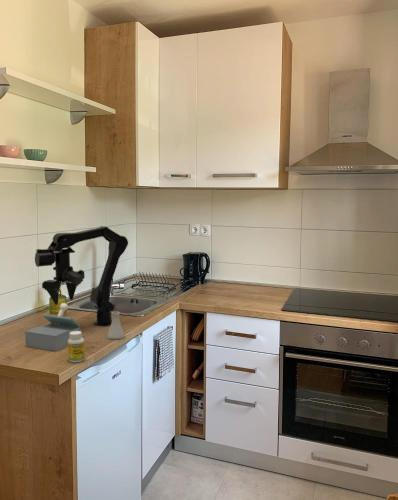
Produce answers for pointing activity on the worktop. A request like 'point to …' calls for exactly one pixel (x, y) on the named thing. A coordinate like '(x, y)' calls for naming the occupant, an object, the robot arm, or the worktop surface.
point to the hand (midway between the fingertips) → (64, 302)
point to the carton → (49, 336)
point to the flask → (115, 328)
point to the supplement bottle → (76, 347)
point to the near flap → (59, 318)
